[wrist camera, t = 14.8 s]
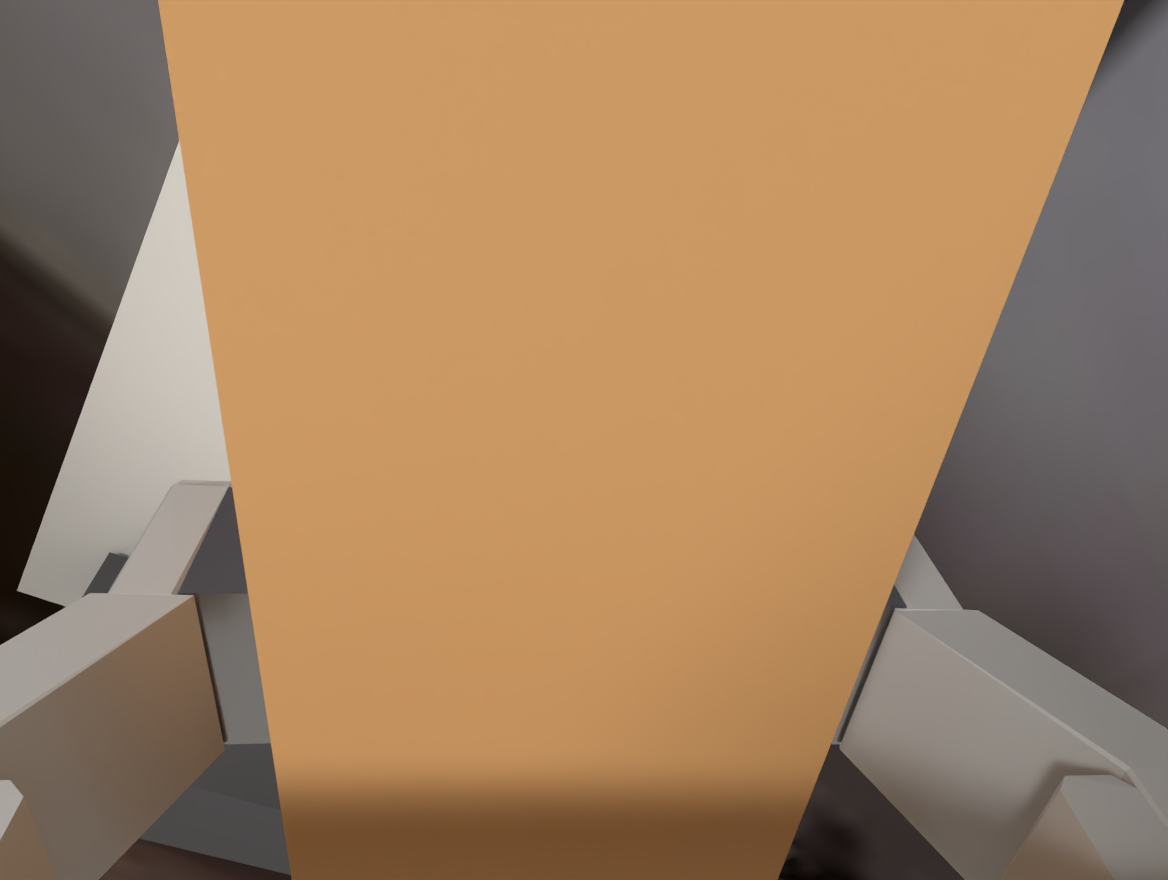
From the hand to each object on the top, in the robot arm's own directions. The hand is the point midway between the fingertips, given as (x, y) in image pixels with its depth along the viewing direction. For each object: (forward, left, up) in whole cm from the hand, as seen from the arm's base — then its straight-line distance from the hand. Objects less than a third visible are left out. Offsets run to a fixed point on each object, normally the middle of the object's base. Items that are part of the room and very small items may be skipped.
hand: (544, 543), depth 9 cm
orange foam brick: (0, 0, -1) cm, 1 cm away
